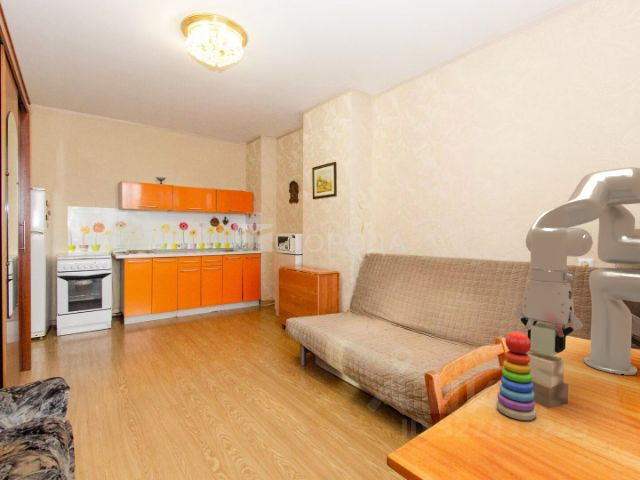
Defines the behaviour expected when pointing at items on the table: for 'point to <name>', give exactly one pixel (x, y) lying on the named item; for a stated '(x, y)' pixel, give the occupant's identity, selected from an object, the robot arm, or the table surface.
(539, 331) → the sage block
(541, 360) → the maple block
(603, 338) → the robot arm
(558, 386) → the walnut base
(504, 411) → the stacking toy
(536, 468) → the table surface
